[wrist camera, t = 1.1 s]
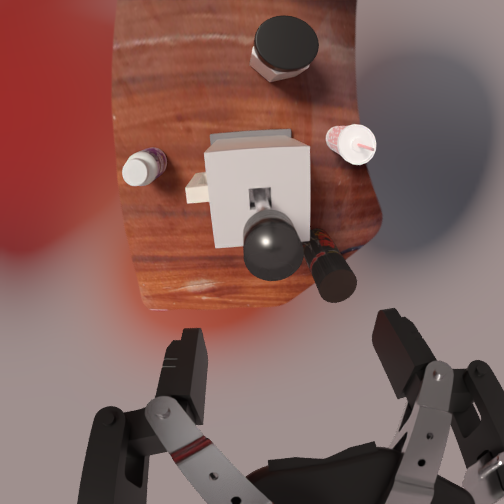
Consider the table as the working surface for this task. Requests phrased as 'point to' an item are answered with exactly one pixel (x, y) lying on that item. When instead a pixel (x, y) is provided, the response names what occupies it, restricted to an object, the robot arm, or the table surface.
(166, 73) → the table surface
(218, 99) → the table surface
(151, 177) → the pill bottle
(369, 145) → the beverage cup
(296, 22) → the jar
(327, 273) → the deodorant
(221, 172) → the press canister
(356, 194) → the table surface
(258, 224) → the plunger
